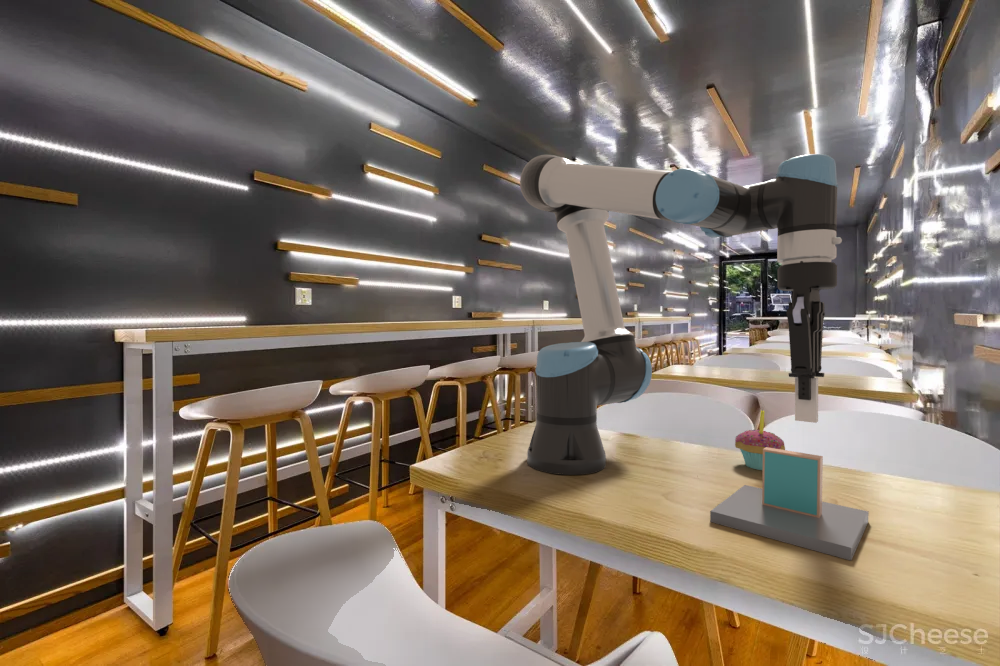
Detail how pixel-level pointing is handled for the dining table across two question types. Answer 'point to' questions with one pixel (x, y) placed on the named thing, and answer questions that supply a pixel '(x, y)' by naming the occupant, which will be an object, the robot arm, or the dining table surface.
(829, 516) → the board
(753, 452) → the cupcake
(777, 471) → the tile
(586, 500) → the dining table surface
